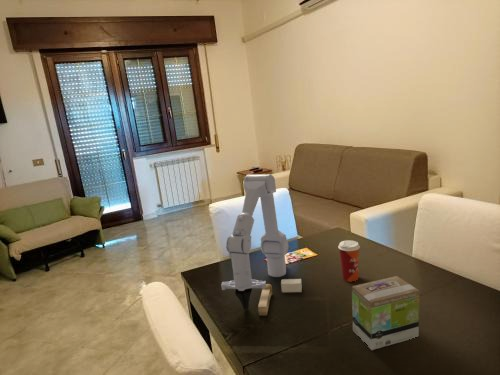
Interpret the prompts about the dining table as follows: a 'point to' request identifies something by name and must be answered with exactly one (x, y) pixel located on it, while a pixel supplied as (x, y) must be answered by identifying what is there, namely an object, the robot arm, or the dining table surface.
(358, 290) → the tea box
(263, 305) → the leg
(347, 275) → the paper cup
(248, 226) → the robot arm
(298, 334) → the dining table surface
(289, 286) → the block
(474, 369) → the dining table surface
